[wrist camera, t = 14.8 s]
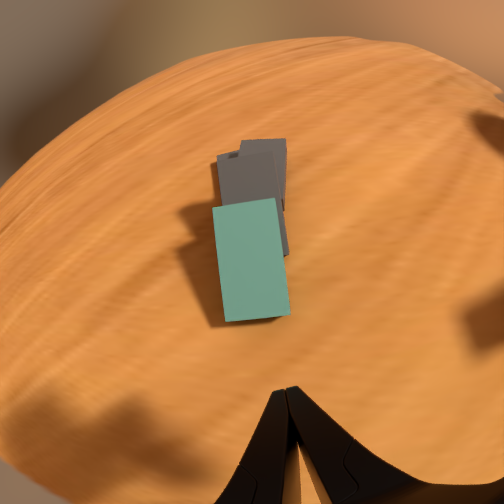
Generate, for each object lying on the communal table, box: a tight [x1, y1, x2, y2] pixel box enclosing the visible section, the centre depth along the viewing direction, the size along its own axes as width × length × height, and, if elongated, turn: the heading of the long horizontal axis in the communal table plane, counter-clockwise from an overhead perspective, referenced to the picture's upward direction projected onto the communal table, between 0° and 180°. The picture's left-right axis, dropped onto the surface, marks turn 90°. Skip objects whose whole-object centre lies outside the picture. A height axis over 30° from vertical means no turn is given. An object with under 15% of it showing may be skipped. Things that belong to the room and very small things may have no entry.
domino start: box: [212, 198, 290, 322], centre depth 23 cm, size 2×5×9 cm
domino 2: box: [217, 151, 289, 255], centre depth 25 cm, size 2×5×9 cm
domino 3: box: [238, 139, 287, 211], centre depth 29 cm, size 2×5×9 cm
